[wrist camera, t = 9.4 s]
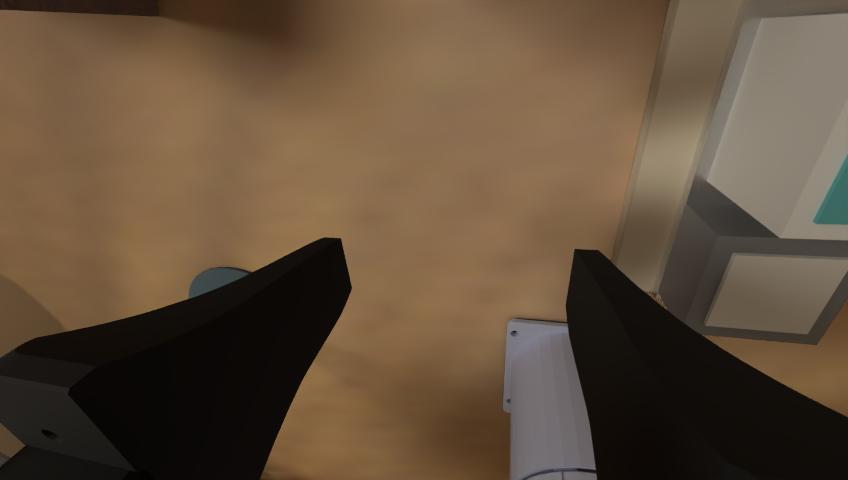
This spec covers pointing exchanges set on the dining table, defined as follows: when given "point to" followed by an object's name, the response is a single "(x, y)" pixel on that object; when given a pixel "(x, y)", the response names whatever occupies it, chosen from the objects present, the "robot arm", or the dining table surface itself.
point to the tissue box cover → (85, 6)
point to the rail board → (671, 130)
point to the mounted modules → (752, 278)
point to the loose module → (791, 129)
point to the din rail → (731, 101)
